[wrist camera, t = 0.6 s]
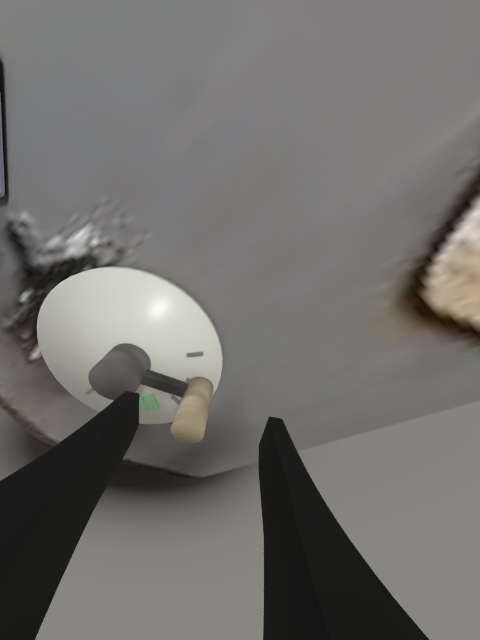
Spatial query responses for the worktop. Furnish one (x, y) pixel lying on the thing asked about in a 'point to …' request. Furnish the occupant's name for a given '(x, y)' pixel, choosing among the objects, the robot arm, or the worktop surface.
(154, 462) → the worktop surface
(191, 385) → the crank handle
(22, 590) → the robot arm
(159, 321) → the dial plate
